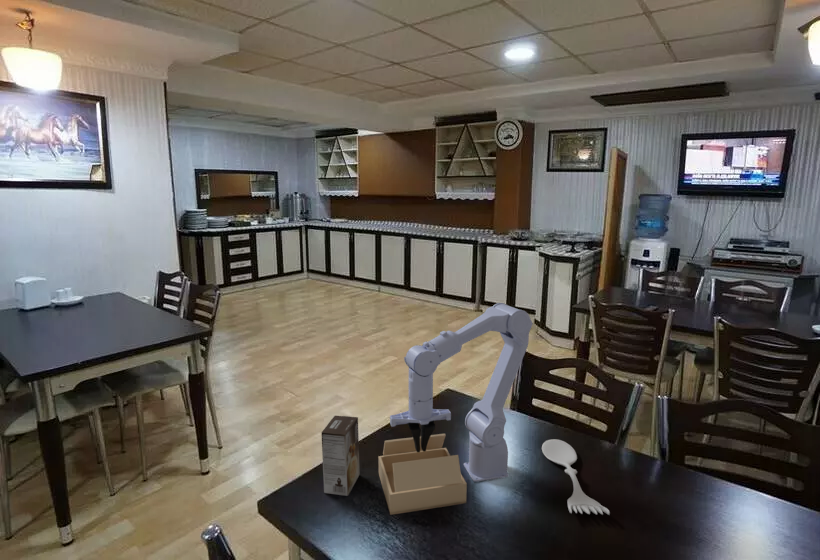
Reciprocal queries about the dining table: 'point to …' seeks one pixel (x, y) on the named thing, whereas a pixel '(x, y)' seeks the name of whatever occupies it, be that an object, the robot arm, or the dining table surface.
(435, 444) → the far flap
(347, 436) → the coffee box
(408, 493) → the carton
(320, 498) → the dining table surface
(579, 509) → the spoon
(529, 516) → the dining table surface
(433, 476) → the near flap
